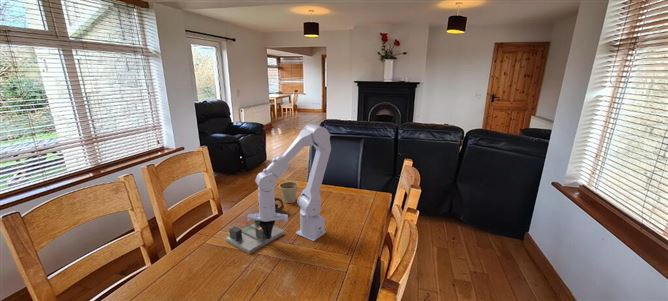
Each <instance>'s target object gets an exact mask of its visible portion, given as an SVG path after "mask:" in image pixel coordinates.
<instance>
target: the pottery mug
mask: <svg viewBox="0 0 668 301" xmlns="http://www.w3.org/2000/svg"><path fill="white" fill-rule="evenodd" d="M274 197H275V202H276V201H279V203H280V206H279V204H278V203H275V213H280V214H281V213H282V211H284V209H285V204H284V202H283V199H281V198H280V197H279V198H278V197H276V196H274ZM257 205H258V207H259V202H258V203H257Z"/></svg>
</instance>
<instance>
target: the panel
mask: <svg viewBox="0 0 668 301" xmlns="http://www.w3.org/2000/svg"><path fill="white" fill-rule="evenodd" d="M259 224H260V220H254V223H251V224H250V225H248V226H245V227H244V228H242V229H241V228H240V227H237V226H235V225H234V226H233V227H230V228H229V229H228V230H229V231H228V232H229V235H228V236H226V237H225V242H227V243H229V244H230V245H233V246H234V247H236V248H238V249H240V250H241V251H243V252H245V253H247V254H249V255H251V254H252V253H254V252H255V251H257V250H259V249H261V248H263V247H264V246H265V245H267V244H269V243H270V242H272V241H274V240H276V239H277V238H279V237H282V235H284V234H285V230H284V229H282V228H280V227H278V226H275V225H274V226H273V229H272V233H271V238H270V239H266V238H265V239H264V240H262V239H260V238H258V237H256V229H255V228H257V227H259V226H260V225H259Z"/></svg>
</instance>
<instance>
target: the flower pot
mask: <svg viewBox="0 0 668 301" xmlns="http://www.w3.org/2000/svg"><path fill="white" fill-rule="evenodd" d="M298 186H299V183H298V182H295V181H285V182H282V183H280V184H279V185H278V188H279V189H280V192H281V196H282V202H283V204H293V203H295V202H296V199H297V189H298Z"/></svg>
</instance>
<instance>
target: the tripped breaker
mask: <svg viewBox="0 0 668 301" xmlns="http://www.w3.org/2000/svg"><path fill="white" fill-rule="evenodd" d="M255 229H256V237H258V238H260V239H262V240H264V239H265V238H266V236H265V233H264V231H263V229H262V228H261V227H260V226H259V227H257V228H255Z"/></svg>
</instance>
